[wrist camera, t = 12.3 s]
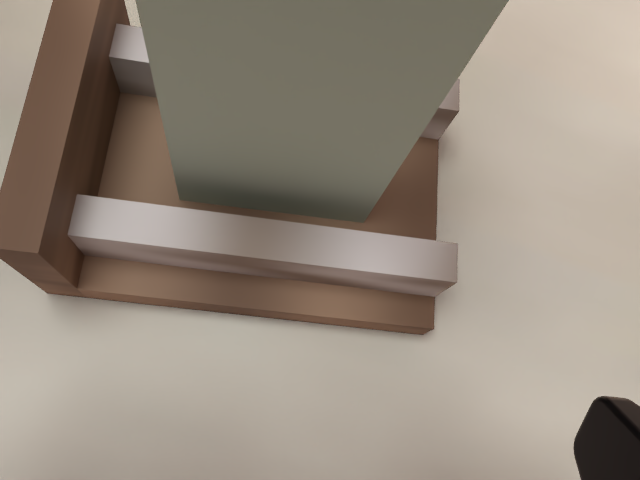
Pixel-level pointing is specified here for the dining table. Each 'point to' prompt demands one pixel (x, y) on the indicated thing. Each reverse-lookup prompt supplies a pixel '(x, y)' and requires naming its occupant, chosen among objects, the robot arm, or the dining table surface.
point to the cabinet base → (195, 204)
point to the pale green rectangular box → (302, 94)
